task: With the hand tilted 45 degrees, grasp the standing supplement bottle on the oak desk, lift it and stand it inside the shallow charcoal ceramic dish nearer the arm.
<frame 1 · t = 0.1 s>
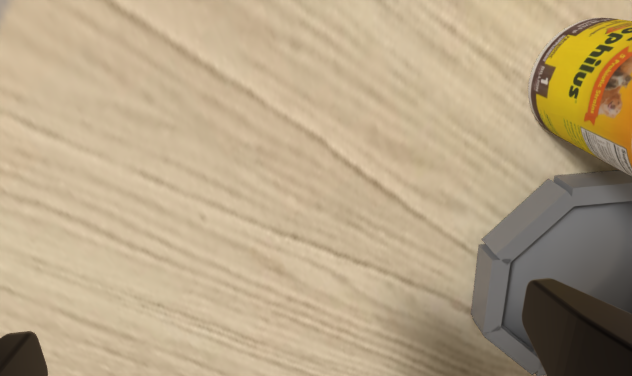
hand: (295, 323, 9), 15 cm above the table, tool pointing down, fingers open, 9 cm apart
supplement bottle: (574, 76, 24), on the table
dish: (575, 269, 28), on the table
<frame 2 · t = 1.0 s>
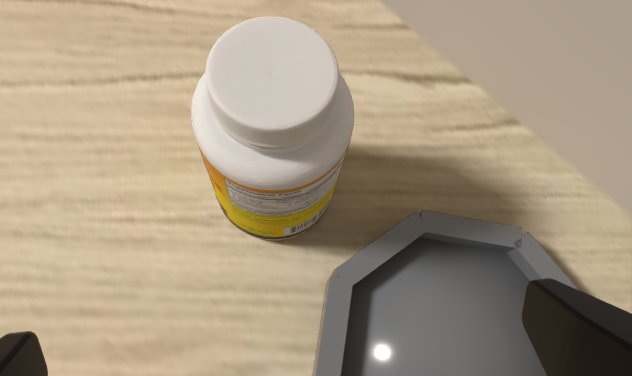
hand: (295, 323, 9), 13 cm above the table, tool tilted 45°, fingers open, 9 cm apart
supplement bottle: (274, 190, 24), on the table
dish: (452, 357, 22), on the table
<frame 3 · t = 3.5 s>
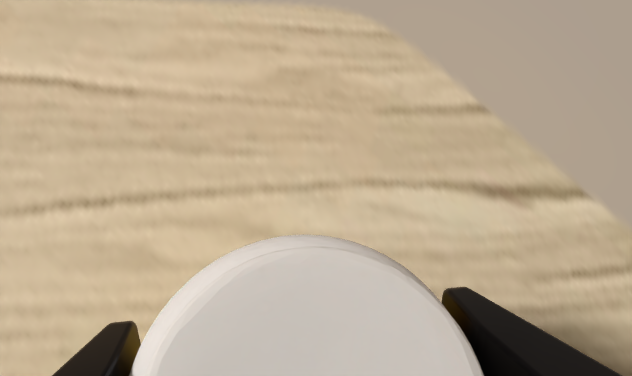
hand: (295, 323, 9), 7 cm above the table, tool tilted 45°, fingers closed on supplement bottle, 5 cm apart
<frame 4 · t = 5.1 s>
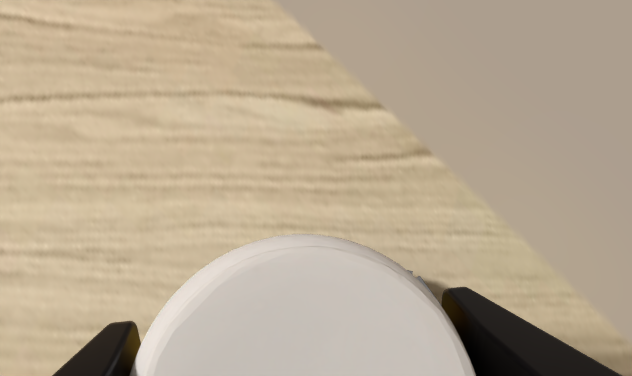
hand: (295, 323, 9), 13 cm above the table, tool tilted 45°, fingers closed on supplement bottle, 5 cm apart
when the fingers open (8 cm above the table, at t = 6.7 s): supplement bottle stays where it is, resting on dish.
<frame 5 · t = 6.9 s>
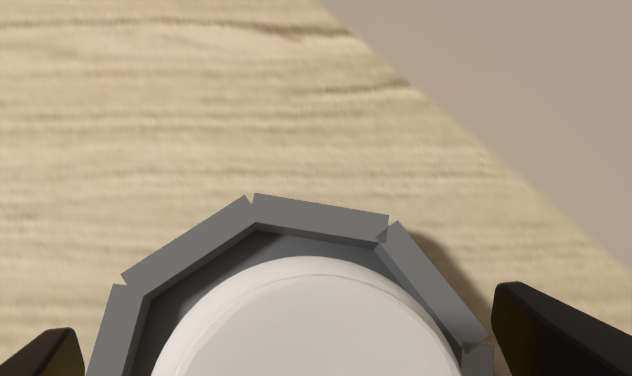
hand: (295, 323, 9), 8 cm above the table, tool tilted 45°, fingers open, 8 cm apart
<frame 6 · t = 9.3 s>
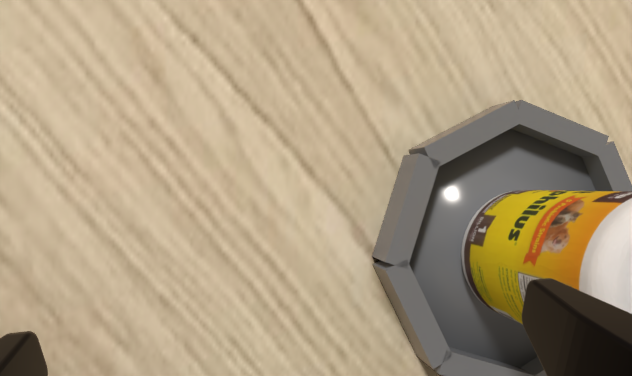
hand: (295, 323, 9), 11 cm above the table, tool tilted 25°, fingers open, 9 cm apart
supplement bottle: (508, 251, 22), resting on dish
dish: (505, 246, 23), on the table
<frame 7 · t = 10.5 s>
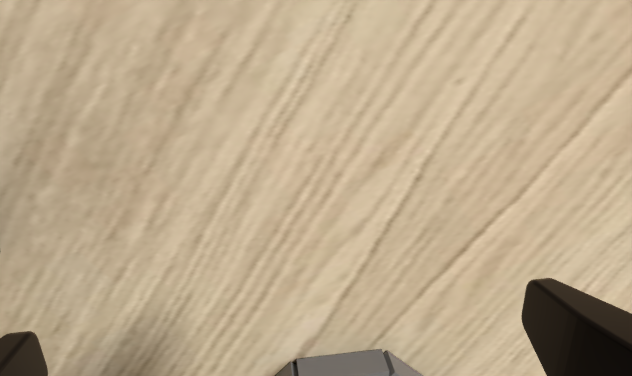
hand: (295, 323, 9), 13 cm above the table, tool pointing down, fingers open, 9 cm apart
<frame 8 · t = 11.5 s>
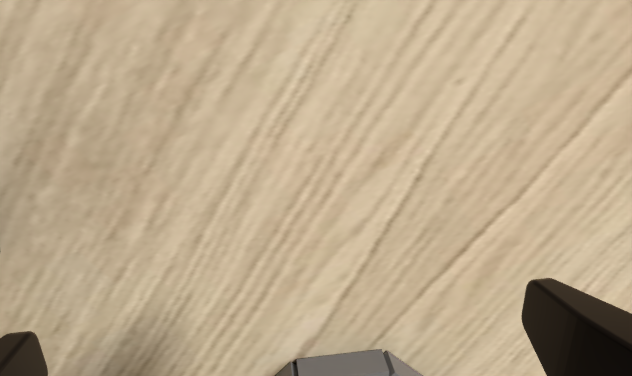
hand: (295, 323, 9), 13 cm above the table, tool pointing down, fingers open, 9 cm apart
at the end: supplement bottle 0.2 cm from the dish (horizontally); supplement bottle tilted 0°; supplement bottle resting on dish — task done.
